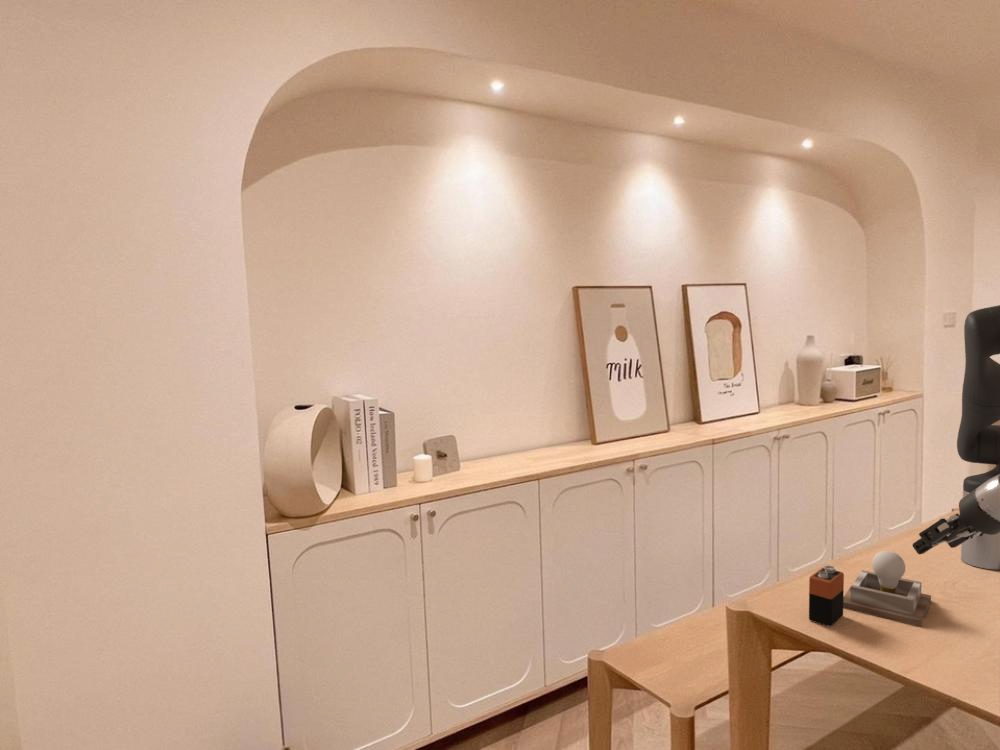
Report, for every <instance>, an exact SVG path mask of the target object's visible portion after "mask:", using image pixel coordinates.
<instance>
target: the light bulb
mask: <svg viewBox="0 0 1000 750" xmlns="http://www.w3.org/2000/svg"><path fill="white" fill-rule="evenodd" d="M871 566H872V569H873V572H875V573H876V575H877V576H878V579H879V583H880V587H881V588H880V589H881V590H880V591H883V592H887V593H892V594H895V593H896V592H895V591H896V586H897V585H898V581H899V580H900V578H903V576H904V574H905V572H906V563H905V560H904V559H903V558H902V557H901V556H900V555H899V553H896V552H893V551H892V550H891V551H890V550H882V551H879V552H877V553H876V554H875V555H874V556H873V559H872V561H871Z"/></svg>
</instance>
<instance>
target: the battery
mask: <svg viewBox="0 0 1000 750" xmlns="http://www.w3.org/2000/svg"><path fill="white" fill-rule="evenodd" d="M808 580H809V583H808V589H809V591H808V619H809V621H811V622H814V621H815V622H814V623H817V622H818V624H820V623H821V625H823V624H824V626H826V627H827V626H828V627H832V626H833V625H834V624H835V623H836V622H837V621H838V620H840V619H841V618H842V617H843V616H844V608H843V597H844V592H845V591H844V589H845V588H844V587H845V586H844V585H845V583H844V582H845V581H844V580H845V574H844V572H841V571H838V570H836V567H835V566H832V565H824V567H821V568H820V569H818V570H817V571H816V572H814V573H812V574H811V575H810V576H809V579H808Z"/></svg>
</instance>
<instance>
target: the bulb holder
mask: <svg viewBox="0 0 1000 750" xmlns="http://www.w3.org/2000/svg"><path fill="white" fill-rule="evenodd" d="M922 583H923V582H922V581H918V580H914V579H908V578H903V577H901V578H900V580H899V581H898V585H897V586H896V591H895V592H896V593H895V594H892V593H887V592H883V591H880V590H881V589H880V588H881V587H880V583H879V579H878V576H877V575H876V573H875V572H874V571H870V570H864V569H862V570H861V572H860V573H859V574H858V576H857V577H856V579H855V580H854V582H853V583H852V585H850V587H849V588H848V590H847V592H845V594H844V595H843V609H847V610H851V611H856V612H861V613H863V614H868V615H872V616H877V617H880V618H884V619H887V620H893V621H896V622H901V623H904V624H909V625H913V626H917V627H921V626H922V624H923V621H924V619H925V616H926V615H927V611H928V609H929V606H930V605H931V601H932V595H930V594H926V593H922Z"/></svg>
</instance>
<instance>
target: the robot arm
mask: <svg viewBox="0 0 1000 750" xmlns="http://www.w3.org/2000/svg"><path fill="white" fill-rule="evenodd" d="M963 326H964V327H963V329H964V330H963V331H964V332H963V333H964V335H963V336H964V338H963V339H964V354H965V355H964V357H965V365H964V366H965V367H964V374H963V375H964V376H963V381H962V382H963V383H962V393H961V418H960V424H959V428H958V432H957V440H956V449H957V453H958V457H960V459H961V460H962V461H965V462H967V463H972V464H982V465H993V466H994V465H995V466H994V468H992V469H990V470H988V471H986V472H983V473H979V474H974V475H969V476H966V477H965V478H964V479H963V481H962V482H963V483H962V486H963V487H962V498H961V499H960V500H959V502H958V509H959V512H957V513H955V514H953V515H950V516H949V518H947V519H946V518H944V517H943V518H940V519H939V520H938V521H936V522H935V523H933V524H931V525H930V526H928V527H927V528H925V529H924V530H923V531H920V532H919V533H918V536H919V537H920V538H919V539H917V540H916V541H915V542H913V543H912V548H913V549H914V551H915V552H916V553H917V554H918V555H924V554H925V553H927V552H928V551H930V550H931V549H933V548H935V547H936V546H938V545H939V544H943V543H946V544H947V545H948V546H949V547H950V548H951V549H953V548H957V547H958V546H960V545H961V546H960V560H961V561H962V562H963V563H965V564H968V565H969V566H972V567H973V566H974V567H977V568H982V569H987V570H996V571H998V570H999V571H1000V425H998V424H995V423H997V422H999V421H1000V363H999V362H997V361H996V360H994V359H993V358H991V357H992V356H996V355H997V356H998V355H1000V305H993V306H989V307H984V308H979V309H976V310H973V311H971V312H969V313H968V315H966V317H965V320H964V325H963Z"/></svg>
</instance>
